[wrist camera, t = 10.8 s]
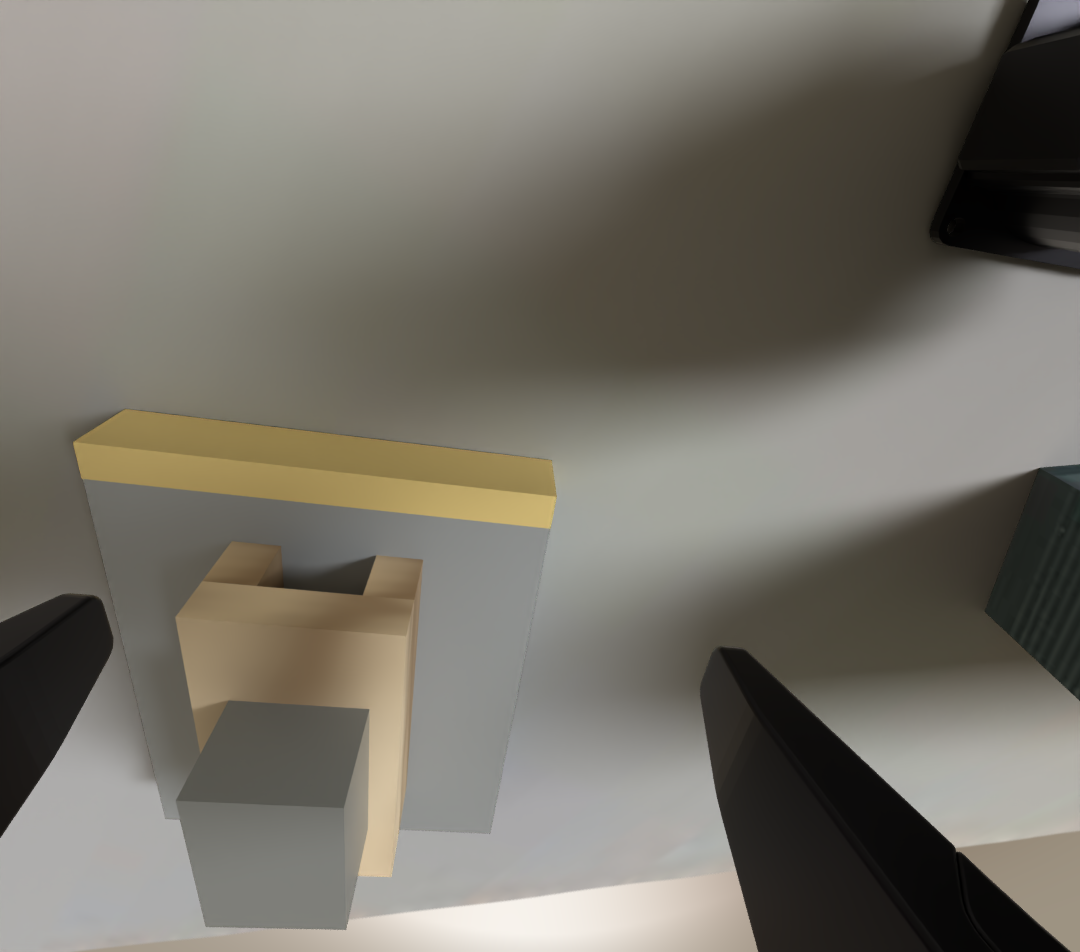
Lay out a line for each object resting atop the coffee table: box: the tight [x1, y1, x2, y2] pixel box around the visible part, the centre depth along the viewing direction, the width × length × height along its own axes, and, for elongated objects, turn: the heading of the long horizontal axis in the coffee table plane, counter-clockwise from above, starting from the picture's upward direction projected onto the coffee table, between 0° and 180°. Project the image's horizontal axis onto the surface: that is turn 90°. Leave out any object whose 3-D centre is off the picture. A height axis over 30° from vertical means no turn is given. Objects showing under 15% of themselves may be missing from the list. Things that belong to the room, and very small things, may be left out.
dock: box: [73, 409, 557, 834], centre depth 22 cm, size 14×18×2 cm
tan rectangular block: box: [175, 541, 423, 877], centre depth 20 cm, size 6×12×4 cm, turn 171°
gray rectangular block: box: [176, 700, 370, 930], centre depth 17 cm, size 4×6×3 cm, turn 172°
